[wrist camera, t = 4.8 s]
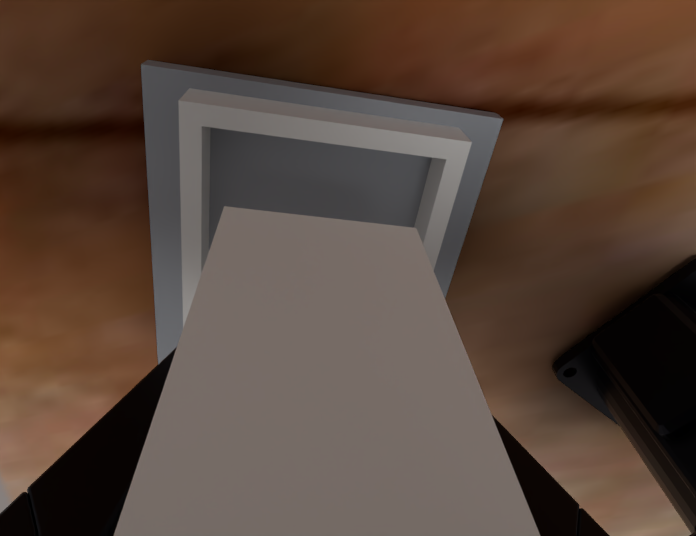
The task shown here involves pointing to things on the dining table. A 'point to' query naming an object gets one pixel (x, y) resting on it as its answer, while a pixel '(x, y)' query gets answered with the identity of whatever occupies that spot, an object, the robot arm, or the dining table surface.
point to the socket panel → (298, 167)
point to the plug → (321, 396)
